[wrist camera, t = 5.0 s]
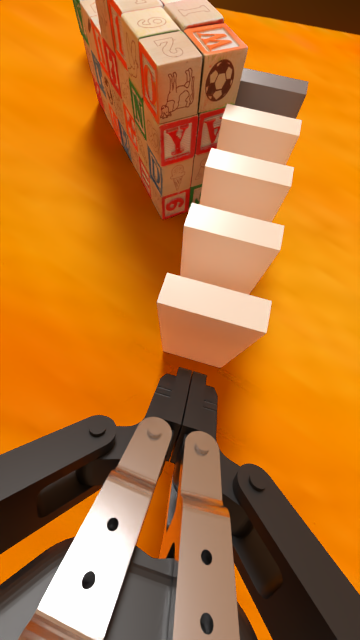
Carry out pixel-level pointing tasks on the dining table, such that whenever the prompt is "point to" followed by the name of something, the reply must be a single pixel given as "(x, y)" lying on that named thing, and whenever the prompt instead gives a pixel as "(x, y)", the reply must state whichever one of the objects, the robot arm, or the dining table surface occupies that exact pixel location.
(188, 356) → the domino
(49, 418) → the dining table surface
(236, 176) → the domino
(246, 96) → the domino
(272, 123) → the domino
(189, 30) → the stack of blocks
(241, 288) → the domino
